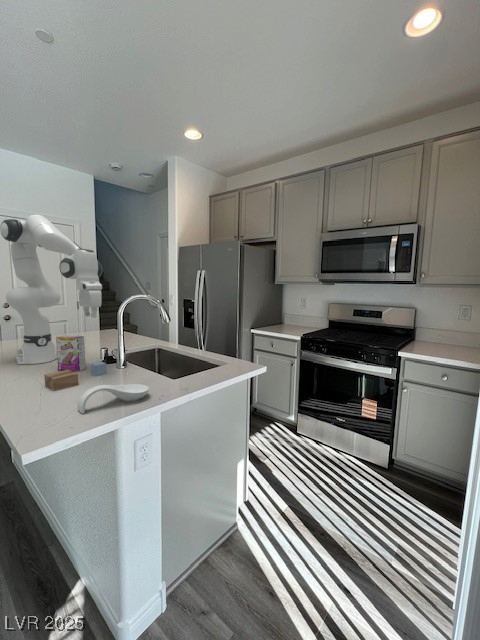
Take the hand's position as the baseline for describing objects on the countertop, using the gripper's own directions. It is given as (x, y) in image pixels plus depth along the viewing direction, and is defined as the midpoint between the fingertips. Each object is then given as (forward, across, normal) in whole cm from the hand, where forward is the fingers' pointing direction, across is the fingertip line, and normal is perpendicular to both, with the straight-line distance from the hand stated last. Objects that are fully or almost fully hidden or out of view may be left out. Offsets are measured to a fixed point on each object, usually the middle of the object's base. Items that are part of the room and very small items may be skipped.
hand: (90, 316), depth 132 cm
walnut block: (+27, +7, -15) cm, 31 cm away
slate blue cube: (+26, +1, +1) cm, 27 cm away
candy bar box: (+26, -14, -6) cm, 30 cm away
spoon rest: (+28, +39, -5) cm, 48 cm away
